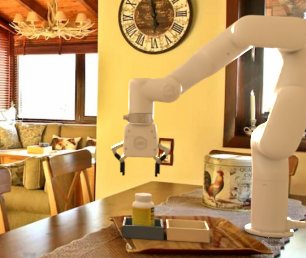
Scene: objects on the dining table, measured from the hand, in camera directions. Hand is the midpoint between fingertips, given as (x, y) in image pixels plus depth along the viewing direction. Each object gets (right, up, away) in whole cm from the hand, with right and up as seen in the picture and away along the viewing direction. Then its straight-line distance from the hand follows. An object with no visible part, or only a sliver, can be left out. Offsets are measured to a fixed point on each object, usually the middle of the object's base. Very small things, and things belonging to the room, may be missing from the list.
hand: (139, 175), depth 156 cm
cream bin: (+11, -16, -11) cm, 22 cm away
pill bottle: (-1, -16, -8) cm, 18 cm away
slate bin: (-1, -16, -8) cm, 18 cm away
